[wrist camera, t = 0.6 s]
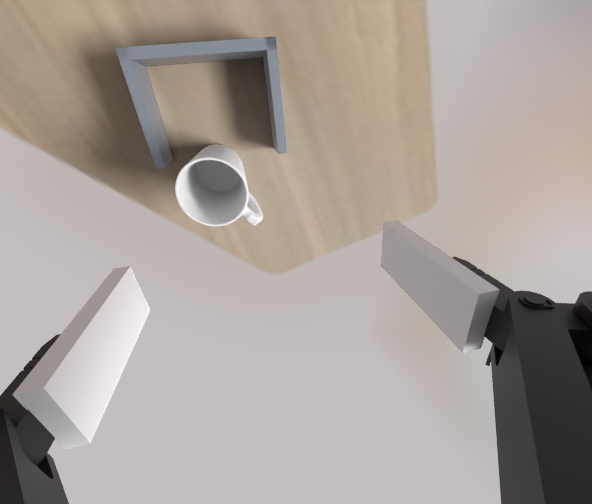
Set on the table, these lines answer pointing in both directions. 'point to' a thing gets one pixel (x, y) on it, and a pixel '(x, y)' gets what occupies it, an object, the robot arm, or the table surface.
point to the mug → (216, 188)
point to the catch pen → (194, 52)
